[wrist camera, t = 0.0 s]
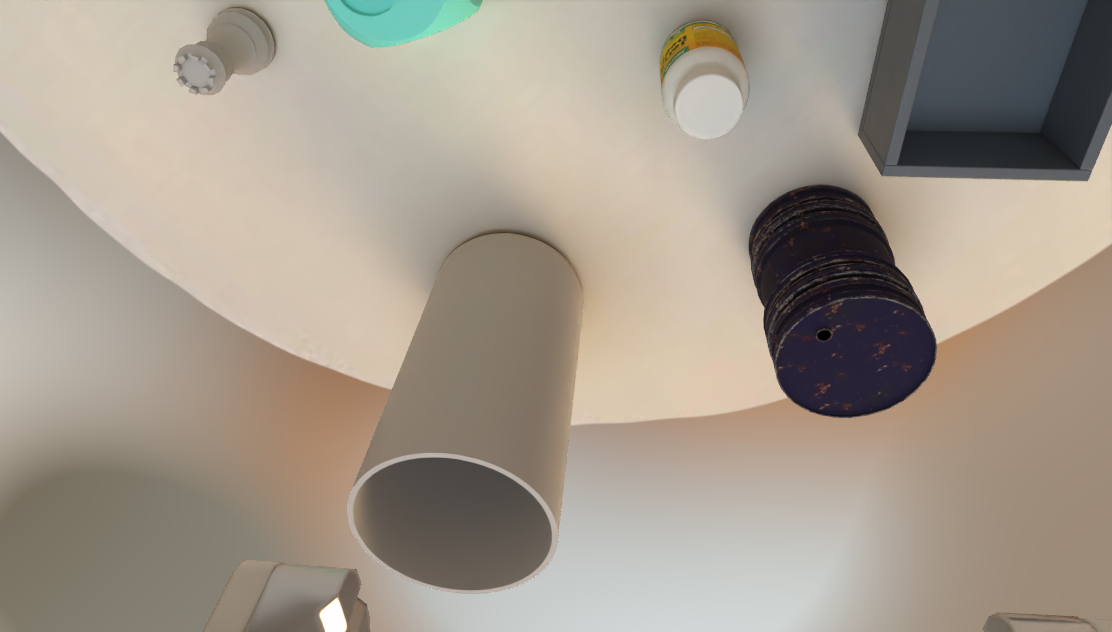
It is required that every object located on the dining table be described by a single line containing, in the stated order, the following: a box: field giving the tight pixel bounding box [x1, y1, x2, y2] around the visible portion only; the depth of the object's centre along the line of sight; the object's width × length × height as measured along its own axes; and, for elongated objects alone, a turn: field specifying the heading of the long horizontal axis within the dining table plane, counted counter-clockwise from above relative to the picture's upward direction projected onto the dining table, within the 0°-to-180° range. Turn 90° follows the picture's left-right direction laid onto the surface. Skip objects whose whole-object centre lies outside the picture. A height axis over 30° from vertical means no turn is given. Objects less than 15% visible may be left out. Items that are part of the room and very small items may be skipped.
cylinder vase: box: [347, 233, 583, 594], centre depth 56 cm, size 12×12×25 cm
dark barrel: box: [749, 185, 937, 418], centre depth 54 cm, size 10×10×15 cm
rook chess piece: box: [174, 8, 275, 95], centre depth 52 cm, size 4×4×8 cm
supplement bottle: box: [660, 21, 749, 140], centre depth 49 cm, size 5×5×10 cm
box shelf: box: [858, 0, 1112, 181], centre depth 47 cm, size 17×13×7 cm
